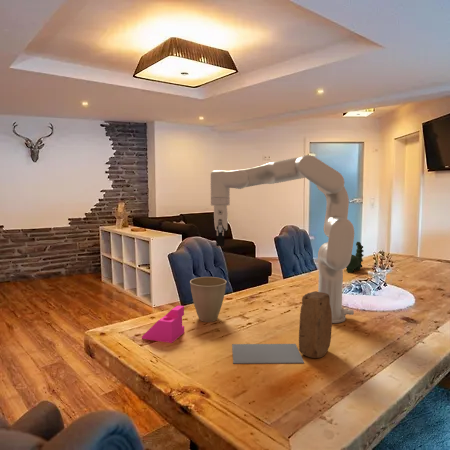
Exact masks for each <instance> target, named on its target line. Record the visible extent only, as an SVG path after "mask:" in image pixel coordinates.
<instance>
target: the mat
mask: <svg viewBox="0 0 450 450" xmlns="http://www.w3.org/2000/svg"><path fill="white" fill-rule="evenodd" d="M231 347H232V364H233V365H239V364H240V365H241V364H244V365H247V364H251V365H252V364H255V365H257V364H259V365H260V364H261V365H262V364H269V365H270V364H272V365H273V364H274V365H275V364H305V360H303V356H302V355H301V354H302V353H300V351H299V347H298V346H297V344H296V343H232V344H231Z"/></svg>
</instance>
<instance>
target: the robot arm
mask: <svg viewBox="0 0 450 450" xmlns="http://www.w3.org/2000/svg"><path fill="white" fill-rule="evenodd" d="M300 179H307V180H308V181H310V182H311V183H312V184H314V185H316V188H317V189H318V190H319V191H320V192H321V193H323V194H324V196H325V200H326V209H325V217H324V223H323V233H324V235H325V236H326V237H328V240H327V242H324V243H323V244H321V246H319V248H318V251H317V262H318V283H317V284H318V288H317V289H318V291H317V292H323V293H327V294H328V295H329V298H330V306H331V312H332V324H340V323H343V322H345V321H346V315H349V316H350V315H354V313H355V312H354V309H349V308H343V280H344V275H343V274H344V272H343V271H344V270H345V269H347V268H346V267H347V266H348V265H349V263H350V260H351V255H353V249H354V248H353V247H354V242H355V228H354V224H353V223H352V222H351V221H350V220H349V219H348V217H349V216H348V215H349V204H350V203H349V202H350V201H349V195H348V191H347V189H346V187H345V178H344V176H343V175H342V173H340V172H339V171H337V170H336V169H335V168H333V167H331V166H330V165H329V164H326V163H325V162H323V161H322V160H320V159H318V158H317V157H316V156H313V155H311V154H310V155H309V154H306V155H302V156H297V157H292V158H286V159H282V160H277V161H272V162H268V163H265V164H262V165H260V166H254V167H250V168H244V169H243V168H242V169H235V170H222V169H221V170H220V169H219V170H218V169H216V170H212V171H211V173H210V205H211V206H213V219H214V220H213V222H214V229H215V231H216V236H215V238H216V239H215V240H216V241H215V246H216V247H224V246H225V231H227V230H228V206H230V201H231V200H230V198H231V197H230V195H231V194H230V189H235V190H236V189H238V190H241V189H245V188H249V187H254V186H260V185H274V184H279V183H284V182H289V181H290V182H291V181H295V180H300Z"/></svg>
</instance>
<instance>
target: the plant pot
mask: <svg viewBox="0 0 450 450" xmlns="http://www.w3.org/2000/svg"><path fill="white" fill-rule="evenodd" d="M189 284H190V292H191V296H192V302H193V305H194V306H193V307H194V309H195V311H196V314H197V317H198V319H199V321H201V322H206V323H211V322H215V321H217V319H218V317H219V316H220V312H221V309H222V306H223V303H224V302H223V301H224V298H225V295H226V289H227V280H226V279H224V278H221V277H218V276H217V277H216V276H215V277H214V276H201V277H200V276H199V277H195V278H192V279H191V280H189Z"/></svg>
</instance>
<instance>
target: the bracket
mask: <svg viewBox="0 0 450 450" xmlns="http://www.w3.org/2000/svg"><path fill="white" fill-rule="evenodd" d="M184 316H185V306H184V305H176V306H175V307H173V308H172V309H170V310H169V312H168V313H166V314H165V315H164V316H163V317H161V318H160V319H158V320H157V321H156V322H155V323H154V324H153V325H152V326H151V327H150V328H149V329H148V330H147V331H146V332H145V333H144V334H143V335H142V336H141V339H143V340H149V341H154V342H155V341H156V342H160V343H161V342H162V343H163V342H164V343H168V344H169V343H170V344H172V343H174V342H175V341H176V340H177V339H178V338H180V336H182V335H183V334H184V333H185V326H184V325H183V317H184Z"/></svg>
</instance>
